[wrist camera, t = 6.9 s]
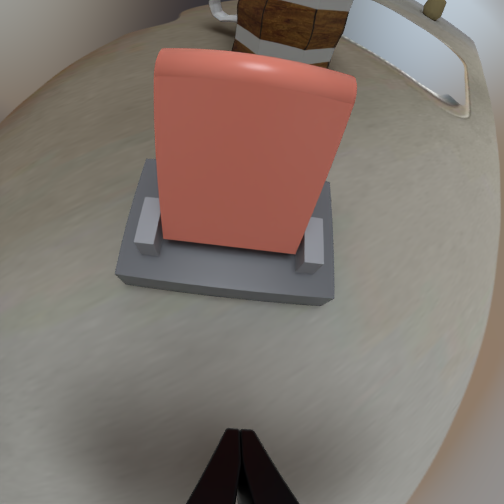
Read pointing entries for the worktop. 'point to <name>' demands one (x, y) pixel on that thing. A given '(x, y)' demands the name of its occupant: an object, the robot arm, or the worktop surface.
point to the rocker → (244, 145)
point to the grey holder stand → (225, 257)
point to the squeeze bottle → (434, 8)
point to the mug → (288, 28)
